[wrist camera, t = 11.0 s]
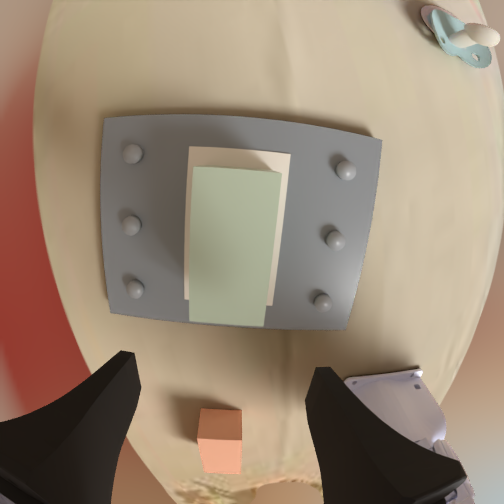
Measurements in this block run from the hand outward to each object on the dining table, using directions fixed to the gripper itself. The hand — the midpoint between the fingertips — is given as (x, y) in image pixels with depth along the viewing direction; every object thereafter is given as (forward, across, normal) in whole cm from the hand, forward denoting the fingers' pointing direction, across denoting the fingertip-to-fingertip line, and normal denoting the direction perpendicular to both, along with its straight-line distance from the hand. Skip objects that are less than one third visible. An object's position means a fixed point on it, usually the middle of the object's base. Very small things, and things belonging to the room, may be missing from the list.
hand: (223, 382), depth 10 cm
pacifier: (+10, -16, -23) cm, 30 cm away
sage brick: (+9, 0, -4) cm, 9 cm away
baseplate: (+10, 0, -4) cm, 11 cm away
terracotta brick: (+10, 0, +18) cm, 21 cm away
